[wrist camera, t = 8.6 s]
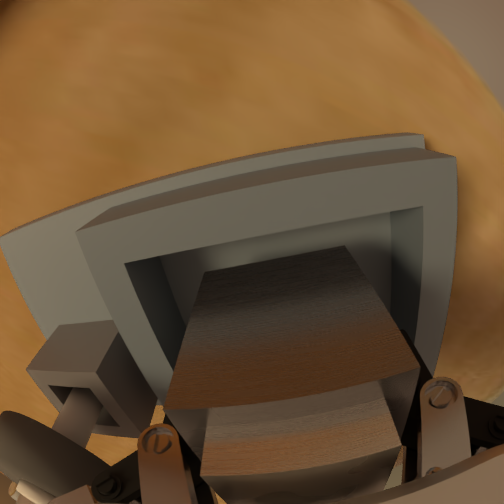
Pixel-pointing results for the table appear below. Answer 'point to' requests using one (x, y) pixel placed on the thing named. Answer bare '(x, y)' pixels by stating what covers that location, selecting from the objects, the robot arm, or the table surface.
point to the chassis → (227, 257)
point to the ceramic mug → (13, 491)
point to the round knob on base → (51, 449)
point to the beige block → (292, 381)
